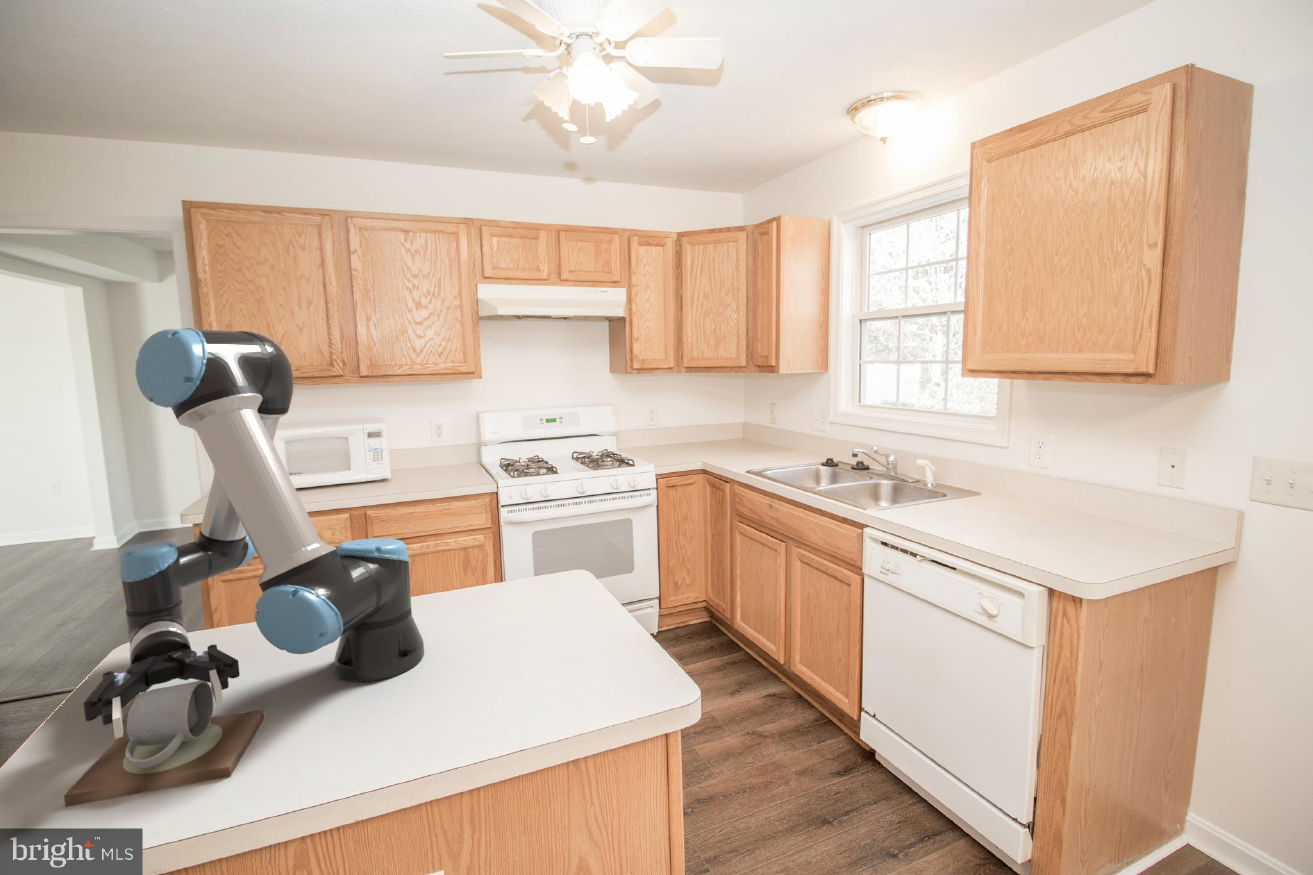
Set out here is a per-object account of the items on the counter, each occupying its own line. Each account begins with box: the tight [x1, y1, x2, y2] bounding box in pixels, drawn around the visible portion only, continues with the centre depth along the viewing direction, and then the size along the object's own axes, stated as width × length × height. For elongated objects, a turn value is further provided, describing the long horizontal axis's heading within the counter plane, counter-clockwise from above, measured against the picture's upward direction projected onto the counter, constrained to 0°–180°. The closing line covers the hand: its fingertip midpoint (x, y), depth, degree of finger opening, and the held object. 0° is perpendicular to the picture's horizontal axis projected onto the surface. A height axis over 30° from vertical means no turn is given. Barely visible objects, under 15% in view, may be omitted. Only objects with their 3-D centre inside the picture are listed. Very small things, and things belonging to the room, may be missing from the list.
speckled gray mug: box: [122, 680, 215, 768], centre depth 83 cm, size 11×8×8 cm
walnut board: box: [63, 709, 265, 807], centre depth 85 cm, size 18×14×2 cm
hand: (170, 711), depth 81 cm, fingers closed on speckled gray mug, 10 cm apart
